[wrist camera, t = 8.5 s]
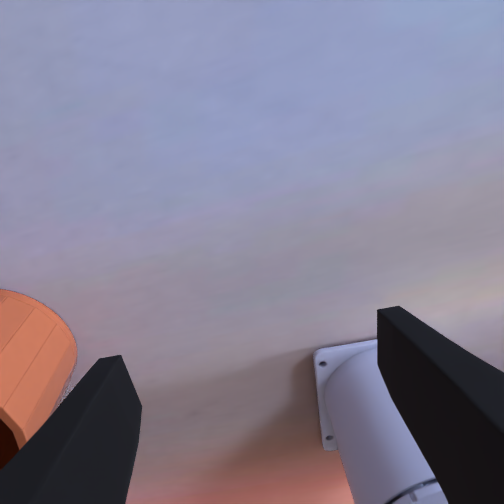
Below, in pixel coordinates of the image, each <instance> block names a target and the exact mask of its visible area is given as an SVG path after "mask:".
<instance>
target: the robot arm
mask: <svg viewBox="0 0 504 504" xmlns="http://www.w3.org/2000/svg"><path fill="white" fill-rule="evenodd" d="M313 360H314V370H315V379H316V389H317V398H318V408H319V417H320V427H321V436H322V445H323V448H324V450H326V451H333V450H338V451H339V454H340V457H341V460H342V464H343V467H344V470H345V473H346V477H347V480H348V483H349V486H350V490H351V493H352V496H353V499H354V503H355V504H504V372H502V371H500V370H498V369H497V368H495V367H493V366H491V365H490V364H488V363H486V362H484V361H483V360H481V359H479V358H478V357H476V356H474V355H473V354H471V353H470V352H468V351H466V350H465V349H463V348H462V347H460V346H458V345H457V344H455V343H454V342H452V341H451V340H449V339H448V338H446V337H445V336H443V335H442V334H440V333H439V332H437V331H436V330H434V329H433V328H431V327H430V326H428V325H427V324H425V323H424V322H422V321H421V320H419V319H418V318H416V317H415V316H413V315H412V314H411V313H409V312H408V311H406V310H405V309H403V308H402V307H400V306H395V307H389V308H384V309H378V310H377V339H374V340H369V341H363V342H357V343H351V344H345V345H340V346H334V347H328V348H322V349H318V350H316V351H315V352H314V354H313ZM322 361H324V363H320V362H322ZM141 412H142V405H141V403H140V400H139V398H138V395H137V393H136V390H135V388H134V385H133V383H132V381H131V378H130V376H129V373H128V371H127V368H126V366H125V364H124V361H123V359H122V356H121V355H117V356H111V357H106V358H100V359H99V360H98V361H97V362H96V363H95V364H94V365H93V366H92V367H91V369H90V370H89V371H88V372H87V373H86V374H85V376H84V377H83V378H82V379H81V380H80V382H79V383H78V384H77V385H76V386H75V388H74V389H73V390H72V391H71V392H70V394H69V395H68V396H67V397H66V398H65V400H64V401H63V402H62V403H61V404H60V405H59V407H58V408H57V409H56V410H55V411H54V412H53V414H52V415H51V416H50V417H49V418H48V419H47V421H46V422H45V423H44V424H43V425H42V426H41V427H40V428H39V430H38V431H37V432H36V433H35V434H34V435H33V436H32V437H31V438H30V439H29V440H28V441H27V443H26V444H25V445H24V446H23V447H22V448H21V449H20V450H19V451H18V452H17V453H16V455H15V456H14V457H13V458H12V459H11V460H10V461H9V462H8V463H7V464H6V465H5V466H4V467H3V468H2V469H1V470H0V504H125V502H126V497H127V493H128V488H129V484H130V480H131V475H132V471H133V466H134V462H135V457H136V452H137V448H138V443H139V434H140V424H141Z"/></svg>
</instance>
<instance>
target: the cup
mask: <svg viewBox="0 0 504 504" xmlns="http://www.w3.org/2000/svg"><path fill="white" fill-rule="evenodd" d="M76 363H77V347H76V342H75V340H74V337H73V335H72V333H71V331H70V329H69V328H68V326H67V325H66V324H65V322H64V321H63V320H62V319H61V318H60V317H59V316H58V315H57V314H56V313H55V312H53V311H52V310H51V309H50V308H48V307H47V306H45V305H44V304H42V303H40V302H38V301H37V300H35V299H33V298H30V297H28V296H26V295H23V294H20V293H17V292H13V291H9V290H4V289H0V470H1V469H2V468H3V467H4V466H5V465H6V464H7V463H8V462H9V461H10V460H11V459H12V458H13V457H14V456H15V455H16V453H17V452H18V451H19V450H20V449H21V448H22V447H23V446H24V445H25V444H26V443H27V441H28V440H29V439H30V438H31V437H32V436H33V435H34V434H35V433H36V432H37V431H38V430H39V428H40V427H41V426H42V425H43V424H44V423H45V422H46V421H47V419H48V418H49V417H50V416H51V415H52V414H53V412H54V411H55V410H56V409H57V407H58V405H59V403H60V401H61V399H62V397H63V395H64V393H65V390H66V388H67V386H68V384H69V382H70V380H71V377H72V374H73V372H74V369H75V366H76Z"/></svg>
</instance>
